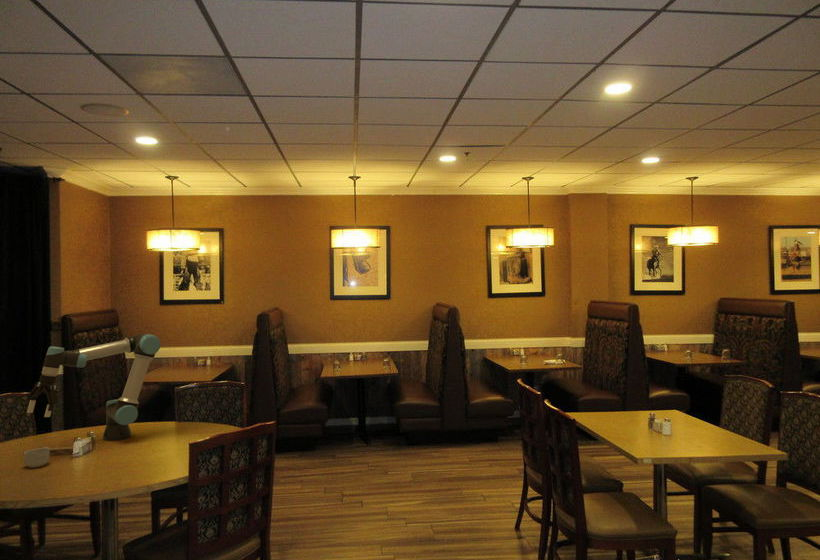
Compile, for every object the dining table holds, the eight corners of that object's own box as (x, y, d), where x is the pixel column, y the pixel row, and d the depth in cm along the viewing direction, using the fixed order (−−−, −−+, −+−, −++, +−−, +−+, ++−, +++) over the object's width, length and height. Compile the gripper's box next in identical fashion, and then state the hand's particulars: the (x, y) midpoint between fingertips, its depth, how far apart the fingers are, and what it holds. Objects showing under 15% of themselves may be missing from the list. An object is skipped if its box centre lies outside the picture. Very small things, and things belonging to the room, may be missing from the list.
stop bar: (79, 452, 296) (79, 446, 296) (77, 454, 293) (77, 448, 294) (35, 454, 292) (35, 448, 293) (32, 456, 290) (32, 450, 290)
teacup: (36, 470, 267) (36, 453, 268) (18, 468, 270) (18, 452, 270) (59, 461, 281) (59, 446, 281) (42, 460, 283) (42, 444, 283)
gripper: (26, 371, 293) (15, 410, 290) (58, 378, 284) (47, 418, 281) (40, 372, 300) (29, 410, 296) (71, 378, 291) (61, 418, 288)
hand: (38, 414), depth 289 cm, fingers open, 13 cm apart
